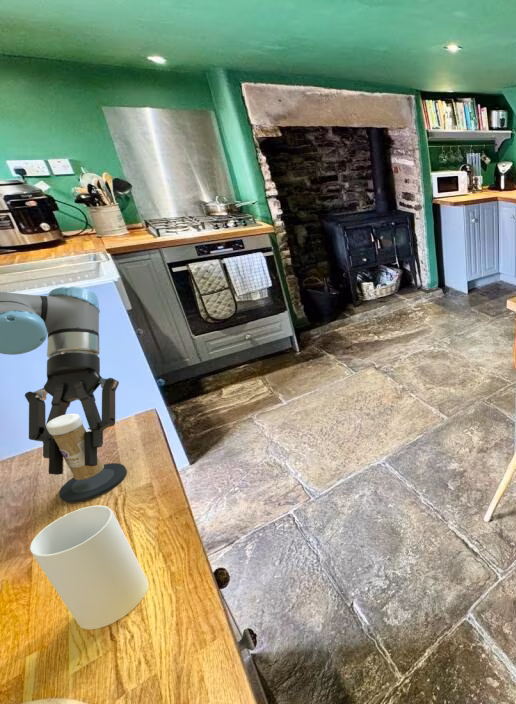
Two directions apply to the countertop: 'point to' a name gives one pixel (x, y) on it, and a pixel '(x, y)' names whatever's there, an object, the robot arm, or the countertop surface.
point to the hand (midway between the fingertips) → (73, 469)
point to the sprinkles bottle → (73, 444)
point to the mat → (93, 484)
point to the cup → (91, 566)
